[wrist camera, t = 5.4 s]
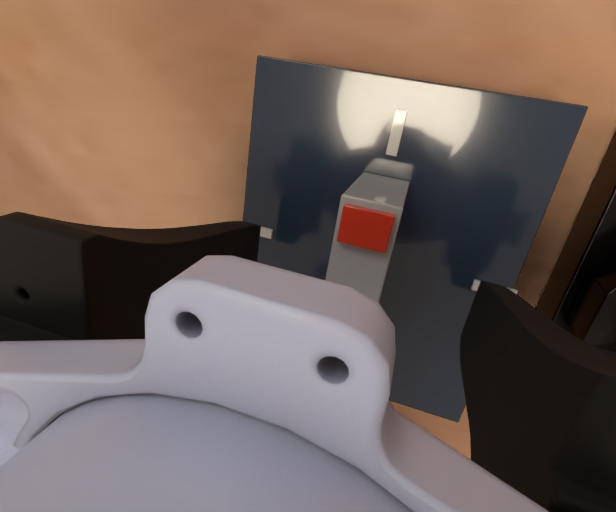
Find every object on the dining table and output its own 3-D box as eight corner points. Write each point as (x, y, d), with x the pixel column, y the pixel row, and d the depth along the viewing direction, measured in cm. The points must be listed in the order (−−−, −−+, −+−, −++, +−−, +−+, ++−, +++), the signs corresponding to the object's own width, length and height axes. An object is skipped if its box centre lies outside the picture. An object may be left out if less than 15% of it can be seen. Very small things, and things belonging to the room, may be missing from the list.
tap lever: (371, 332, 15) (353, 398, 12) (331, 320, 16) (304, 382, 12) (410, 181, 13) (402, 210, 10) (362, 171, 13) (339, 196, 10)
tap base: (456, 377, 18) (461, 427, 16) (255, 317, 20) (227, 351, 18) (561, 105, 14) (595, 107, 11) (284, 62, 16) (251, 53, 13)
